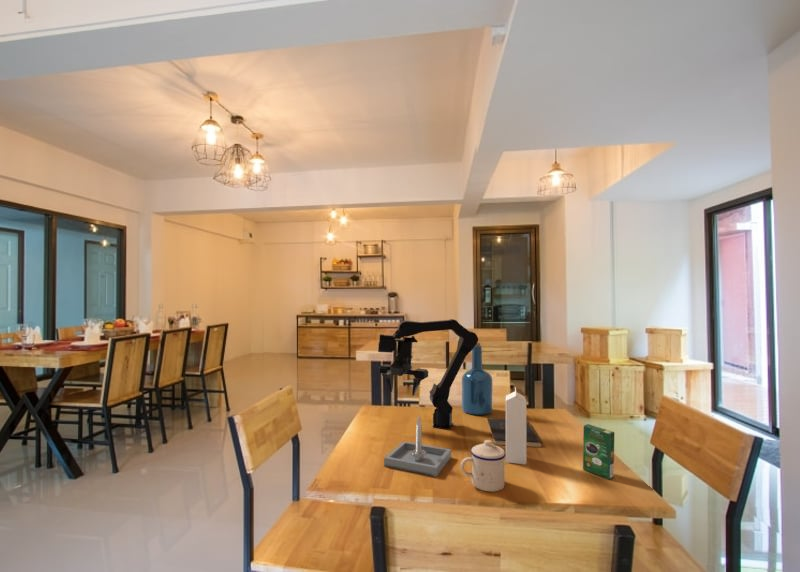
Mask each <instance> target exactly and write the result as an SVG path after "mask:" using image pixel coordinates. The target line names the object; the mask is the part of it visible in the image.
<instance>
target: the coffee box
mask: <svg viewBox="0 0 800 572" xmlns="http://www.w3.org/2000/svg"><path fill="white" fill-rule="evenodd" d="M582 444H583V445H582V446H583V447H582V448H583V449H582V452H583V453H582V470H584V471H586V472H589V473H592V474H594V475H596V476H599V477H601V478H602V479H603V478H604V479H607V480H609V481H611V479H614V475H615V471H614V470H615V467H614V466H615V432H614V431H612V430H608V429H606V428H601V427H599V426H596V425H592V424H590V423H586V424H584V425H583V443H582Z"/></svg>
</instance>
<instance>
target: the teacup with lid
mask: <svg viewBox="0 0 800 572" xmlns="http://www.w3.org/2000/svg"><path fill="white" fill-rule="evenodd" d="M470 453H471V456H468V457H465V458H463V459H462V461H461V463H460V469H461V471H462V473H463V474H464V475H465V476H466V477H469V478H470V477H471V483H472V485H473V486H474V487H475V488H476V489H478V490H481V491H483V492H489V493H491V492H492V493H493V492H498V491H501V490H503V489H504V487H505V458H506V451H505V450H504V449H503V448H502V447H500V446H499V445H496V444H495V443H494V444H493V441H492V440H491V439H485V440H484V441H483V442H482V443H479V444H476V445H474V446H473V447H472V448H471V450H470ZM467 462H471V472H467V471H466V470H465V464H467Z"/></svg>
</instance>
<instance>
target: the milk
mask: <svg viewBox="0 0 800 572" xmlns="http://www.w3.org/2000/svg"><path fill="white" fill-rule="evenodd" d="M505 419H506V445H505V463H506V464H507V463H509V464H517V465H518V464H519V465H525V466H526V465H527V446H526V420H527V400H526V397H525V395H522V394H521V393H518V391H517V387H516V386H515V387H514V391H512V392H511V393H509V394H506V395H505Z"/></svg>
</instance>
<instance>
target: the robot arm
mask: <svg viewBox="0 0 800 572" xmlns="http://www.w3.org/2000/svg"><path fill="white" fill-rule="evenodd" d="M448 330H449V331H450V330H451V331H452V332H453V333H454V334H455V335H456V336H458V337H459V338H458V341H457V347H456V350H455V352H454V354H453V357H451V360H450V362H449V364H448V366H447V368H446V370H445V373H444V375H443V376H442V378H441V380H440V381H439V383H438V384H436V383H433V385H432V387H431V390H430V391H429V400H430V402H431V404H432V406H433V407H434V408H435V409H434V412H433V413H432V424H433V425H432V427H433V428H438V429H445V430H450V429H451V427H453V425H454V422H453V409H454V408H453V406H452V404H451V403H450V402H449V396H450V392H451V388H452V386H453V383H454V381H455V379H456V377H457V375H458V373H459V371H460V369H461V367H462V365H463V363H464V361H465V360H466V357H467V356H468V354H470V353H472V350H473V348H474V347H475V346H476V344H477V343H479V338H478V335H477V333H475V332H473V331H470V330H468V329H467V328H466V327H465V326H463V325H462V324H460V322H458V321H457V319H453V318H450V319H443V320H433V321H414V320H402V321H400V322H399V324H398V326H397V330H396V331H395V332H394V333H393V334H392V335H391V334H389V335H388V334H381V333H379V339H378V342H377V343H378V345H377V346H378V348H377V352H378V353H389V354H390V353H391V354H392V353H393V352H394V351H396V355H395V359H394V361H393V362H392V364H387V363H385V364H382V365H380V366H378V374H381V377H382V376H383V377H384V378H385V380H386V381H387V385H388V389H389V392H390V393H392V392H393V391H394V390H393V388H394V376H398V377H403V376H404V375H411V376H413V377H414V378H412V381H413V384H412V392H411V393H412V396H415V395H416V391H417V390H418V388H419V385H420V383H421V381H423V380H425V379H426V378H427V379H428V378H429V371H428V369H425V368H417V369H413V366H412V359H413V355H412V353H413V343H418V342H419V341H418V340H417V339H416V337H415V336H414V335H418V334H422V333H425V332H436V331H437V332H439V331H448ZM402 338H403V339H402Z"/></svg>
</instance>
